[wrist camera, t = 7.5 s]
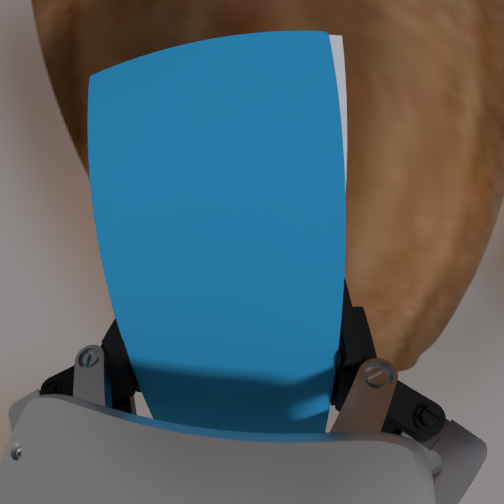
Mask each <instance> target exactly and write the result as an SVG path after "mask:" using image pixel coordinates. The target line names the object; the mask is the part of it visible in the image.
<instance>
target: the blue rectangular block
mask: <svg viewBox="0 0 504 504" xmlns="http://www.w3.org/2000/svg"><path fill="white" fill-rule="evenodd" d="M88 159H89V174H90V186H91V196H92V204H93V212H94V219H95V226H96V233H97V239H98V244H99V250H100V255H101V260H102V265H103V269H104V274H105V278H106V283H107V287H108V291H109V295H110V299H111V302H112V306H113V310H114V313H115V317H116V320H117V324H118V327H119V330H120V334H121V337H122V339H123V340H124V344H125V347H126V350H127V353H128V356H129V359H130V363H131V366H132V369H133V371H134V374H135V376H136V379H137V382H138V384H139V387H140V389H141V391H142V394H143V396H144V399H145V401H146V403H147V405H148V408H149V410H150V412H151V414H152V417H153V419H156V420H160V421H165V422H170V423H176V424H181V425H187V426H194V427H201V428H208V429H217V430H226V431H237V432H251V433H280V434H299V433H325V430H326V424H327V419H328V414H329V409H330V403H331V397H332V391H333V384H334V378H335V366H336V359H337V352H338V347H339V338H340V328H341V317H342V305H343V291H344V273H345V243H346V197H345V168H344V150H343V136H342V124H341V114H340V104H339V96H338V88H337V80H336V73H335V67H334V60H333V54H332V48H331V43H330V37H329V34H328V33H327V32H325V31H276V32H261V33H250V34H241V35H233V36H226V37H219V38H213V39H208V40H202V41H197V42H193V43H188V44H184V45H179V46H175V47H171V48H168V49H164V50H160V51H157V52H153V53H150V54H147V55H144V56H141V57H137V58H134V59H132V60H129V61H126V62H123V63H120V64H118V65H115V66H113V67H110V68H107V69H105V70H103V71H100V72H98V73H96V74H93V75H91V77H90V78H89V91H88Z"/></svg>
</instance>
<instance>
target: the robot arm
mask: <svg viewBox="0 0 504 504" xmlns="http://www.w3.org/2000/svg"><path fill="white" fill-rule="evenodd" d="M397 378H398V374H397V370H396V368H395V367H394V365H393V364H392V363H390V362H389V361H387V360H385V359H380V358H377V356H376V352H375V348H374V344H373V340H372V336H371V333H370V329H369V325H368V322H367V318H366V315H365V311H364V309H363V307H352V303H351V299H350V296H349V292H348V288H347V285H346V281H345V278H344V291H343V305H342V317H341V328H340V338H339V347H338V352H337V359H336V366H335V378H334V384H333V391H332V397H331V405H335V408H336V410H338V411H339V412H340V413H339V415H338V417H337V419H336V421H335V423H334V425H333V427H332V429H331V431H330V433H299V434H280V433H251V432H237V431H226V430H217V429H208V428H201V427H194V426H187V425H181V424H176V423H170V422H165V421H160V420H156V419H151V418H146V417H142V416H137V414H136V408H135V401H134V394H135V391H137V392H142V391H141V389H140V387H139V384H138V382H137V379H136V376H135V374H134V371H133V369H132V366H131V363H130V359H129V356H128V353H127V350H126V347H125V344H124V340H123V339H122V337H121V334H120V330H119V327H118V324H117V320H116V318H115V320H114V321H113V323H112V325H111V326H110V328H109V330H108V332H107V333H106V335H105V337H104V339H103V340H102V345H101V347H99V346H97V345H89V346H86V347H85V348H83V349H82V350H81V351H80V352H79V353H78V354H77V356H76V360H75V365H74V366H72V367H70V368H69V369H66V370H64V371H62V372H60V373H58V374H56V375H54V376H52V377H50V378H48V379H47V380H46V381H45V382H44V383H43V385H42V387H41V390H39V389H38V390H36V391H34V392H32V393H31V394H29V395H27V396H25V397H24V398H22V399H20V400H18V401H17V402H15V403H14V404H12V406H11V407H10V409H9V419H10V425H11V429H12V434H11V436H10V439H9V441H8V444H7V447H6V450H5V452H4V455H3V458H2V461H1V464H0V504H458V502H459V501H460V500H461V498H462V497H463V495H464V494H465V492H466V491H467V489H468V487H469V486H470V484H471V483H472V481H473V480H474V478H475V476H476V475H477V473H478V471H479V470H480V468H481V466H482V464H483V462H484V461H485V458H486V455H487V447H486V444H485V443H484V442H483V440H481V439H479V438H478V437H477V436H475V435H474V434H472V433H471V432H470V431H468V430H467V429H465V428H464V427H462V426H461V425H459V424H458V423H456V422H455V421H454V420H451V421H449V420H447V419H446V418H445V413H444V411H443V409H442V408H441V407H440V406H439V405H438V404H437V403H435V402H433V401H432V400H430V399H428V398H427V397H425V396H423V395H421V394H420V393H418V392H416V391H415V390H413V389H411V388H410V387H408V386H407V385H405V384H403V383H402V382H400V381H398V380H397Z"/></svg>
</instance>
